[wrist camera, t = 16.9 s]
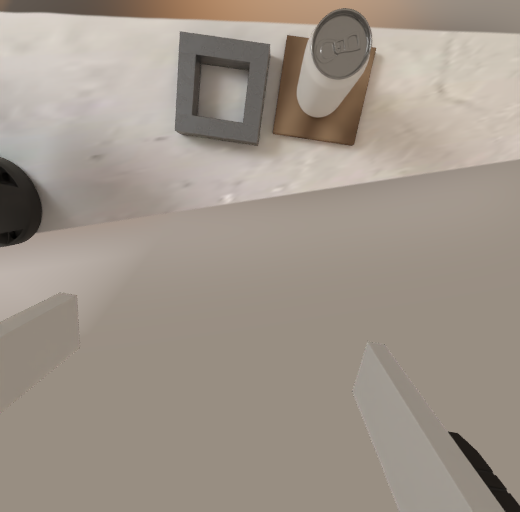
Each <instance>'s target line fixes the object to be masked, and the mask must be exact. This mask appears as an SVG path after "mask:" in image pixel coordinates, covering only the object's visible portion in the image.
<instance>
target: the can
mask: <svg viewBox="0 0 520 512" xmlns="http://www.w3.org/2000/svg"><path fill="white" fill-rule="evenodd" d="M371 47H372V33H371V29H370V26H369V24H368V22H367V20H366V19H365V18H364V16H362V15H361V14H360V13H359V12H357V11H355V10H352V9H346V8H343V9H338V10H335V11H333V12H331V13H329V14H328V15H326V16H325V17H324V18H323V19H322V20H321V21H320V23H319V24H318V26H317V27H316V28H315V29H314V30H313V32H312V33H311V35H310V37H309V40H308V42H307V45H306V49H305V53H304V57H303V62H302V67H301V71H300V76H299V81H298V86H297V100H298V103H299V105H300V107H301V109H302V110H303V111H304V112H305V113H306V114H308V115H309V116H312V117H325V116H327V115H329V114H331V113H332V112H333V111H335V110H336V108H337V107H338V106H339V105H340V103H341V102H342V101H343V100H344V98H345V97H346V96H347V94H348V93H349V92H350V90H351V89H352V88H353V86H354V85H355V84H356V82H357V81H358V80H359V78H360V77H361V75H362V74H363V72H364V70H365V68H366V66H367V64H368V61H369V56H370V51H371Z"/></svg>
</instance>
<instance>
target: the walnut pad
mask: <svg viewBox="0 0 520 512" xmlns="http://www.w3.org/2000/svg"><path fill="white" fill-rule="evenodd" d="M308 40H309V38H303V37H296V36H289V35H287V40H286V47H285V54H284V61H283V67H282V74H281V81H280V88H279V94H278V101H277V108H276V115H275V121H274V128H273V134H278V135H285V136H292V137H298V138H305V139H312V140H318V141H325V142H332V143H338V144H345V145H354V142H355V137H356V133H357V129H358V124H359V120H360V116H361V111H362V107H363V103H364V99H365V94H366V90H367V86H368V81H369V77H370V73H371V68H372V64H373V60H374V55H375V51H376V48H373V47H371V51H370V56H369V61H368V64H367V66H366V68H365V70H364V72H363V74H362V75H361V77H360V78H359V80H358V81H357V82H356V84H355V85H354V86H353V88H352V89H351V90H350V92H349V93H348V94H347V96H346V97H345V98H344V100H343V101H342V102H341V103H340V105H339V106H338V107H337V108H336V110H335V111H333V112H332V113H331V114H329V115H327V116H325V117H312V116H309V115H308V114H306V113H305V112H304V111H303V110H302V109H301V107H300V105H299V103H298V100H297V86H298V81H299V76H300V71H301V67H302V62H303V57H304V53H305V49H306V45H307V42H308Z"/></svg>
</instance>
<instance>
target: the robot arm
mask: <svg viewBox="0 0 520 512" xmlns="http://www.w3.org/2000/svg"><path fill="white" fill-rule="evenodd" d="M40 221H41V204H40V199H39V196H38V193H37V191H36V189H35V187H34V185H33V184H32V182H31V181H30V179H29V178H28V177H27V175H26V174H25V173H24V172H23V171H22V170H21V169H20V168H19V167H17V166H16V165H15V164H13V163H12V162H10V161H8V160H6V159H4V158H1V157H0V247H4V246H10V245H15V244H19V243H22V242H25V241H27V240H28V239H30V238H31V237H32V236H33V235H34V234H35V232H36V231H37V229H38V227H39V224H40ZM78 323H79V322H78V305H77V295H72V294H66V293H58V294H56V295H54V296H53V297H50V298H48V299H47V300H44V301H42V302H40V303H38V304H36V305H34V306H32V307H30V308H28V309H26V310H24V311H22V312H20V313H18V314H15V315H13V316H11V317H10V318H7V319H5V320H3V321H1V322H0V413H2V412H3V411H4V410H5V409H6V408H8V407H9V406H10V405H11V404H12V403H14V402H15V401H16V400H17V399H18V398H20V397H21V396H22V395H23V394H25V393H26V392H27V391H28V390H29V389H31V388H32V387H33V386H34V385H35V384H37V383H38V382H39V381H40V380H42V379H43V378H44V377H45V376H46V375H47V374H49V373H50V372H51V371H52V370H54V369H55V368H56V367H57V366H58V365H60V364H61V363H62V362H63V361H64V360H66V359H67V358H68V357H69V356H70V355H72V354H73V353H74V352H75V351H77V350H78V349H79V348H80V340H79V324H78ZM352 392H353V395H354V397H355V400H356V403H357V405H358V408H359V410H360V413H361V415H362V418H363V420H364V423H365V426H366V428H367V431H368V433H369V435H370V438H371V441H372V443H373V446H374V449H375V451H376V453H377V456H378V459H379V461H380V463H381V466H382V469H383V471H384V474H385V477H386V479H387V482H388V484H389V487H390V489H391V492H392V494H393V497H394V499H395V502H396V505H397V507H398V510H399V512H520V506H519V504H518V503H517V502H516V500H515V499H514V498H513V497H512V495H511V494H510V493H508V492H507V490H506V488H505V486H504V485H503V484H502V482H501V481H500V480H499V479H498V477H497V476H496V475H494V474H493V471H492V470H491V468H490V467H489V466H488V464H487V463H486V462H485V461H484V459H483V458H482V457H481V455H480V454H479V453H478V452H477V450H475V449H474V448H473V447H472V446H471V445H470V444H469V443H468V442H467V441H466V440H464V439H463V438H462V437H461V436H460V435H459V434H458V433H453V432H447V430H446V429H445V427H444V426H443V425H442V423H441V422H440V420H439V419H438V418H437V416H436V415H435V413H434V412H433V411H432V409H431V408H430V407H429V405H428V404H427V402H426V401H425V400H424V399H423V397H422V395H421V394H420V393H419V392H418V390H417V389H416V387H415V386H414V384H413V383H412V382H411V380H410V379H409V377H408V376H407V375H406V373H405V372H404V370H402V368H401V366H400V365H399V364H398V362H397V361H396V359H395V358H394V357H393V355H392V354H391V353H390V351H389V350H388V348H387V347H386V345H385V344H379V343H373V342H367V345H366V348H365V352H364V355H363V358H362V362H361V365H360V368H359V371H358V374H357V378H356V381H355V384H354V388H353V391H352Z"/></svg>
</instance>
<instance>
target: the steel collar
mask: <svg viewBox="0 0 520 512" xmlns="http://www.w3.org/2000/svg"><path fill="white" fill-rule="evenodd" d="M269 61H270V44H264V43H257V42H250V41H243V40H236V39H229V38H222V37H215V36H208V35H201V34H194V33H187V32H180V41H179V61H178V80H177V100H176V119H175V131H177V132H178V133H180V134H183V135H189V136H196V137H203V138H209V139H216V140H222V141H229V142H236V143H242V144H249V145H256V146H258V142H259V135H260V127H261V120H262V112H263V105H264V98H265V90H266V83H267V76H268V68H269ZM201 64H208V65H214V66H221V67H228V68H235V69H242V70H249V77H248V86H247V94H246V103H245V111H244V119H243V123H240V122H233V121H227V120H220V119H213V118H207V117H200V116H197V114H198V101H199V87H200V73H201Z"/></svg>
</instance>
